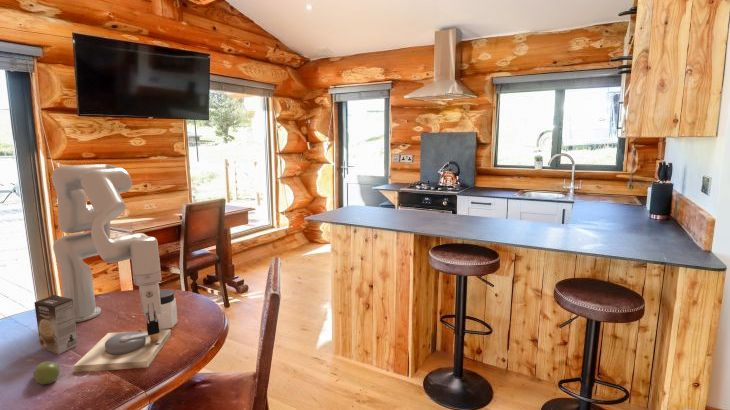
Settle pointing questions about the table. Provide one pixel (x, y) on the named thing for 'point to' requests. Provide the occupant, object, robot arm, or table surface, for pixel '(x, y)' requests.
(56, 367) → the pear
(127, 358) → the board
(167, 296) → the jar
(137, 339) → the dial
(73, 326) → the coffee box
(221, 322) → the table surface
